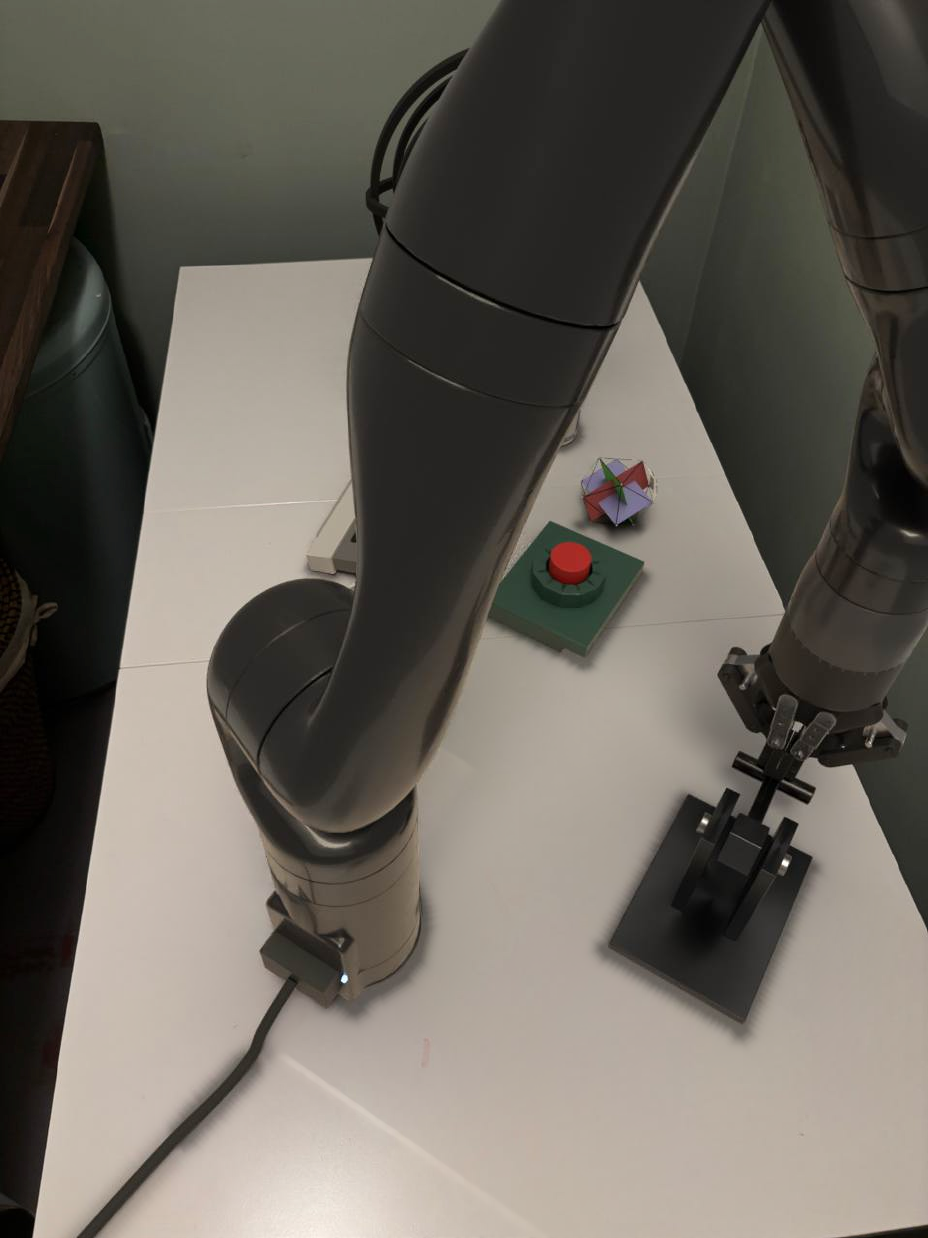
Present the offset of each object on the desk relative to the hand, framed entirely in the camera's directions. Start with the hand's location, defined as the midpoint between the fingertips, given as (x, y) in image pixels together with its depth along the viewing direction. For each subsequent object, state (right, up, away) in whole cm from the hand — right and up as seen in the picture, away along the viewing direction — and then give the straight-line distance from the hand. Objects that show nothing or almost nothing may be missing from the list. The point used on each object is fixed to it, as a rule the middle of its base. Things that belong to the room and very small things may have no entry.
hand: (776, 769), depth 72 cm
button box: (-14, +13, +19) cm, 27 cm away
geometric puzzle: (-8, +21, +26) cm, 34 cm away
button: (-13, +15, +16) cm, 26 cm away
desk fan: (-20, +41, +42) cm, 61 cm away
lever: (-3, -3, -3) cm, 6 cm away
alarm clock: (-27, +20, +24) cm, 41 cm away
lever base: (-5, -10, 0) cm, 11 cm away
